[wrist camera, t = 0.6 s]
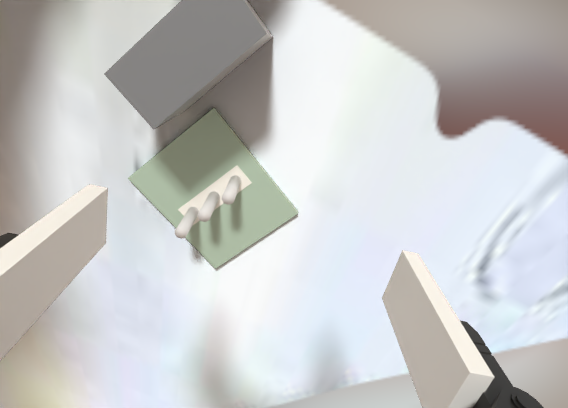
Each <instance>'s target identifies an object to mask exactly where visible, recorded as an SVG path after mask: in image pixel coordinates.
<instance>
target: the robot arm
mask: <svg viewBox="0 0 568 408" xmlns="http://www.w3.org/2000/svg"><path fill="white" fill-rule="evenodd" d="M107 196H108V188H106V187H101V186H96V185H91V184H89V185H87V186H86V187H84V188H83V189H82V190H80V191H79V192H78V193H76V194H75V195H73V196H72V197H71V198H69V199H68V200H66V201H65V202H64V203H62V204H61V205H60V206H58V207H57V208H55V209H54V210H53V211H51V212H50V213H49V214H47V215H46V216H44V217H43V218H42V219H40V220H39V221H37V222H36V223H35V224H33V225H32V226H31V227H29V228H28V229H26V230H25V231H24V232H22V233H21V234H20V235H17V234H12V233H7V234H4V235H2V236H0V361H1V360H2V358H3V357H4V356H5V355H6V354H7V353H8V352H9V351H10V350H11V348H12V347H13V346H14V345H15V344H16V343H17V342H18V341H19V339H20V338H21V337H22V336H23V335H24V334H25V333H26V332H27V331H28V329H29V328H30V327H31V326H32V325H33V324H34V323H35V322H36V321H37V319H38V318H39V317H40V316H41V315H42V314H43V313H44V312H45V310H46V309H47V308H48V307H49V306H50V305H51V304H52V303H53V302H54V300H55V299H56V298H57V297H58V296H59V295H60V294H61V293H62V291H63V290H64V289H65V288H66V287H67V286H68V285H69V284H70V283H71V281H72V280H73V279H74V278H75V277H76V276H77V275H78V274H79V273H80V271H81V270H82V269H83V268H84V267H85V266H86V265H87V264H88V262H89V261H90V260H91V259H92V258H93V257H94V256H95V255H96V254H97V252H98V251H99V250H100V249H101V248H102V247H103V246H104V245H105V243H106V223H107ZM382 300H383V302H384V305H385V308H386V310H387V313H388V316H389V319H390V321H391V324H392V327H393V329H394V332H395V335H396V337H397V340H398V343H399V346H400V348H401V351H402V354H403V356H404V359H405V362H406V365H407V367H408V370H409V373H410V375H411V378H412V381H413V384H414V386H415V389H416V392H417V394H418V397H419V400H420V402H421V405H422V408H543V407H542V405H540V403H539V402H538V401H537V400H536V399H534V398H533V397H532V396H530V395H529V394H528V393H526V392H524V391H522V390H521V389H518V388H515V387H513V386H512V384H511V383H510V381H509V380H508V378H507V376H506V375H505V373H504V372H503V370H502V369H501V367H500V366H499V364H498V363H497V361H496V360H495V358H494V357H493V356H492V355H491V354H492V353H491V352H490V350H489V349H488V347H487V346H485V343H484V341H483V340H482V338H481V337H480V335H479V334H478V332H477V331H476V330H474V329H473V328H472V327H471V326H470V325H469V324H468V323H467V322H464V321H460V320H459V319H458V317H457V315H456V314H455V312H454V311H453V309H452V307H451V306H450V304H449V303H448V301H447V299H446V298H445V296H444V294H443V293H442V291H441V290H440V288H439V286H438V285H437V283H436V281H435V280H434V278H433V277H432V275H431V273H430V272H429V270H428V268H427V267H426V265H425V264H424V262H423V260H422V259H421V257H420V255H419V254H417V253H413V252H408V251H403V250H402V253H401V255H400V257H399V260H398V262H397V264H396V267H395V269H394V271H393V274H392V276H391V278H390V281H389V283H388V285H387V288H386V290H385V292H384V295H383V297H382Z"/></svg>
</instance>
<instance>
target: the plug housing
mask: <svg viewBox="0 0 568 408" xmlns="http://www.w3.org/2000/svg"><path fill="white" fill-rule="evenodd" d="M272 37H273V36H272V35H271V33H270V32H269V30H268V29H267V27H266V26H265V25H264V23H263V22H262V20H261V19H260V17H259V16H258V14H257V13H256V12H255V10H254V9H253V7H252V6H251V4H250V3H249V2H248V0H182V1H181V2H179V3H178V4H177V5H176V6H175V7H174V8H173V9H172V10H171V11H170V12H169V13H168V14H167V15H166V16H165V17H164V18H163V19H162V20H160V21H159V22H158V23H157V24H156V25H155V26H154V27H153V28H152V29H151V30H150V31H149V32H148V33H147V34H146V35H145V36H144V37H143V38H141V39H140V40H139V41H138V42H137V43H136V44H135V45H134V46H133V47H132V48H131V49H130V50H129V51H128V52H127V53H126V54H125V55H124V56H122V57H121V58H120V59H119V60H118V61H117V62H116V63H115V64H114V65H113V66H112V67H111V68H110V69H109V70H108V71H107V72H106V73H105V75H106V77H107V78H108V79H109V80H110V81H111V82H112V83H113V84H114V86H115V87H116V88H117V89H118V90H119V91H120V92H121V93H122V95H123V96H124V97H125V98H126V99H127V100H128V101H129V102H130V104H131V105H132V106H133V107H134V108H135V109H136V110H137V111H138V112H139V114H140V115H141V116H142V117H143V118H144V119H145V120H146V121H147V123H148V124H149V125H150V126H151V127H152V128H153V129H155V128H157V127H158V126H160V125H162V124H164V123H165V122H167V121H169V120H170V119H172V118H174V117H175V116H177V115H179V114H180V113H182V112H184V111H185V110H186V109H188V108H189V107H190V106H191V105H192V104H194V103H195V102H196V101H197V100H198V99H200V98H201V97H202V96H203V95H204V94H206V93H207V92H208V91H209V90H210V89H212V88H213V87H214V86H215V85H216V84H217V83H219V82H220V81H221V80H222V79H223V78H225V77H226V76H227V75H228V74H229V73H231V72H232V71H233V70H234V69H235V68H237V67H238V66H239V65H240V64H241V63H242V62H244V61H245V60H246V59H247V58H248V57H250V56H251V55H252V54H253V53H254V52H256V51H257V50H258V49H259V48H260V47H262V46H263V45H264V44H265V43H266V42H267V41H269V40H270V39H271V38H272Z"/></svg>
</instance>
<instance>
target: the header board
mask: <svg viewBox="0 0 568 408" xmlns="http://www.w3.org/2000/svg"><path fill="white" fill-rule="evenodd" d="M128 179H129V180H130V181H131V182H132V183H133V184H134V185H135V186H136V187H137V188H138V189H139V190H140V191H141V192H142V194H143V195H144V196H145V197H146V198H147V199H148V200H149V201H150V202H151V203H152V204H153V205H154V206H155V207H156V208H157V209H158V210H159V211H160V212H161V213H162V214H163V215H164V216H165V217H166V218H167V219H168V220H169V221H170V222H171V224H172V225H173V226H174V227H175V228H176V230H175V235H176V236H177V237H178V238H186V239H187V240H188V241H189V242H190V243H191V244H192V245H193V246H194V247H195V248H196V249H197V250H198V251H199V252H200V253H201V255H202V256H203V257H204V258H205V259H206V260H207V261H208V262H209V263H210V264H211V265H212V266H213V267H214V268H215V269H216V268H218V267H219V266H221V265H222V264H224V263H225V262H227V261H228V260H230V259H231V258H233V257H234V256H236V255H237V254H239V253H240V252H241V251H243V250H244V249H246V248H247V247H249V246H250V245H252V244H253V243H255V242H256V241H258V240H259V239H261V238H262V237H264V236H265V235H267V234H268V233H270V232H271V231H273V230H274V229H276V228H277V227H279V226H280V225H282V224H283V223H285V222H286V221H288V220H289V219H291V218H292V217H294V216H295V215H297V214H298V211H297V209H296V208H295V207H294V206H293V204H292V203H291V202H290V201H289V199H288V198H287V197H286V196H285V194H284V193H283V192H282V191H281V190H280V188H279V187H278V186H277V185H276V183H275V182H274V181H273V180H272V178H271V177H270V176H269V175H268V173H267V172H266V171H265V170H264V168H263V167H262V166H261V165H260V164H259V162H258V161H257V160H256V159H255V157H254V156H253V155H252V154H251V152H250V151H249V150H248V149H247V147H246V146H245V145H244V144H243V142H242V141H241V140H240V139H239V138H238V136H237V135H236V134H235V133H234V131H233V130H232V129H231V128H230V126H229V125H228V124H227V123H226V121H225V120H224V119H223V118H222V116H221V115H220V114H219V113H218V112H217V110H216V109H215V108H213V109H212V110H210V111H209V112H208V113H207V114H205V115H204V116H203V117H202V118H201V119H199V120H198V121H197V122H196V123H195V124H193V125H192V126H191V127H190V128H188V129H187V130H186V131H185V132H184V133H182V134H181V135H180V136H179V137H177V138H176V139H175V140H174V141H173V142H171V143H170V144H169V145H168V146H166V147H165V148H164V149H163V150H162V151H160V152H159V153H158V154H157V155H155V156H154V157H153V158H152V159H151V160H149V161H148V162H147V163H146V164H145V165H143V166H142V167H141V168H140V169H138V170H137V171H136V172H135V173H134V174H132V175H131V176H130V177H129V178H128Z"/></svg>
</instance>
